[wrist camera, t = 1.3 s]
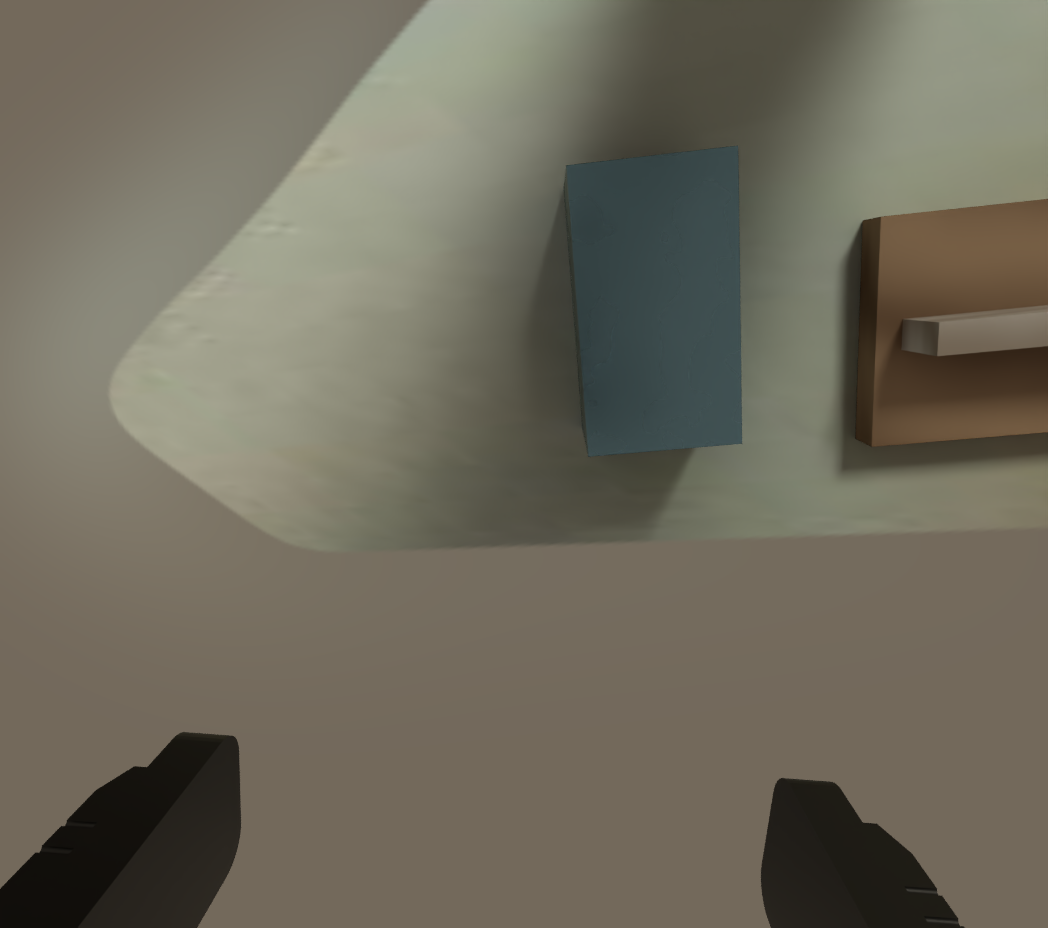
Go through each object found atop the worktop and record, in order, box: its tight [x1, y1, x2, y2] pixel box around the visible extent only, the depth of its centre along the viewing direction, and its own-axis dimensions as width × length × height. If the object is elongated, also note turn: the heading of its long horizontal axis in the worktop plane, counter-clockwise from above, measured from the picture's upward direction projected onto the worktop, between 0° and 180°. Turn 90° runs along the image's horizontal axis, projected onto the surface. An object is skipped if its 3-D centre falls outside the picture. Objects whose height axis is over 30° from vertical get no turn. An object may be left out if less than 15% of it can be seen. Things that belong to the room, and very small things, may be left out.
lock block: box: [564, 146, 742, 457], centre depth 25 cm, size 10×6×5 cm, turn 6°
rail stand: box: [855, 199, 1048, 447], centre depth 25 cm, size 9×12×4 cm
